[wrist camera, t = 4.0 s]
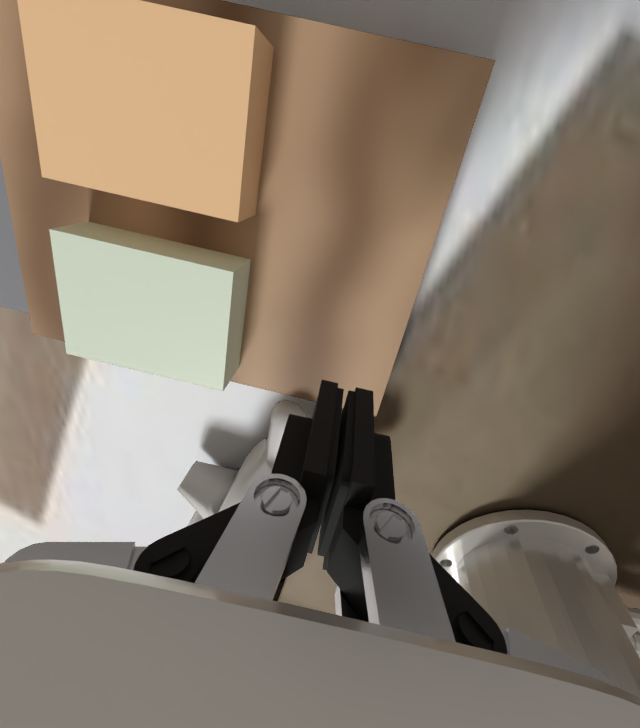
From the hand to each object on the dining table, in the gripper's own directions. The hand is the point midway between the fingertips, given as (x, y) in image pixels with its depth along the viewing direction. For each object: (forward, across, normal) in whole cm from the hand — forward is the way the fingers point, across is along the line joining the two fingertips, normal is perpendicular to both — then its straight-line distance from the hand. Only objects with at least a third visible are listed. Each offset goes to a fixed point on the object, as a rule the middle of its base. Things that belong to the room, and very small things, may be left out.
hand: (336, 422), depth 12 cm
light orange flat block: (+8, +9, -7) cm, 14 cm away
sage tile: (+8, +9, +1) cm, 12 cm away
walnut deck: (+10, +7, -3) cm, 13 cm away
